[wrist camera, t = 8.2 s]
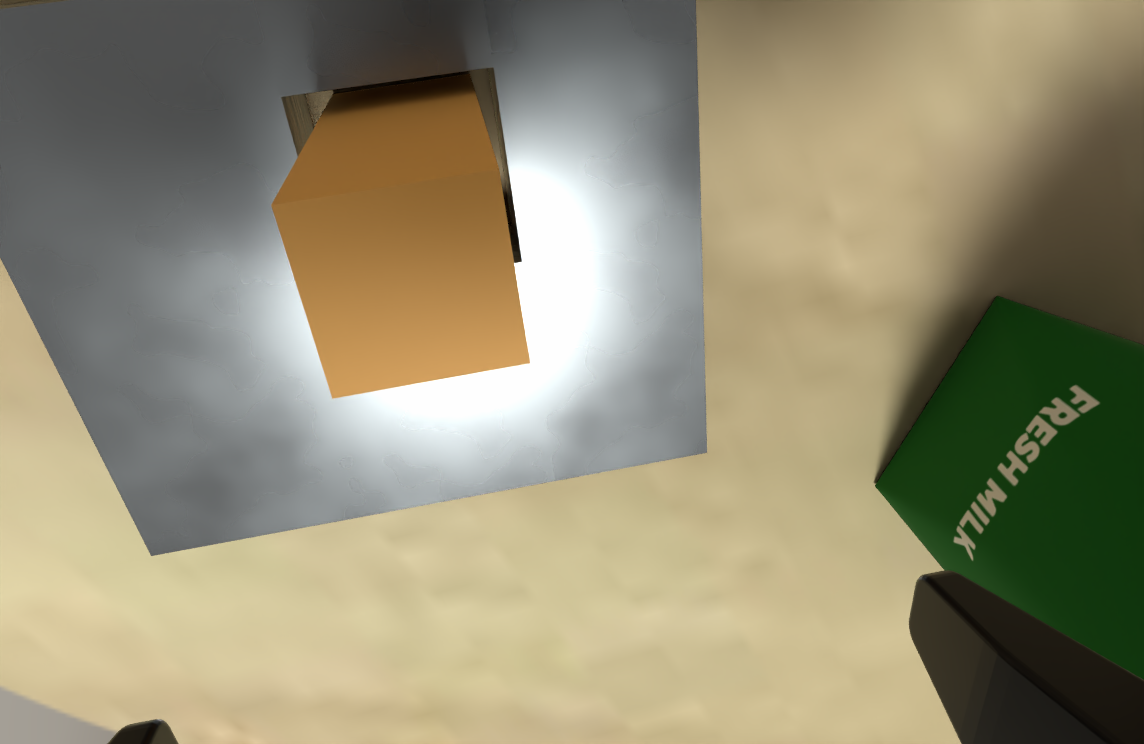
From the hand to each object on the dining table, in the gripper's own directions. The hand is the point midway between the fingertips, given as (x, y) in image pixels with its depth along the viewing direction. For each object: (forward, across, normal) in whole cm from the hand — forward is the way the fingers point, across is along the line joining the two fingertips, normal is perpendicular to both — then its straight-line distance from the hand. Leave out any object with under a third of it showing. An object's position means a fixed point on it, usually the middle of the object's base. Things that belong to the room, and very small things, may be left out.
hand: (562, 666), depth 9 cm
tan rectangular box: (+12, +1, -3) cm, 13 cm away
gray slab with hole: (+12, +2, -1) cm, 12 cm away
